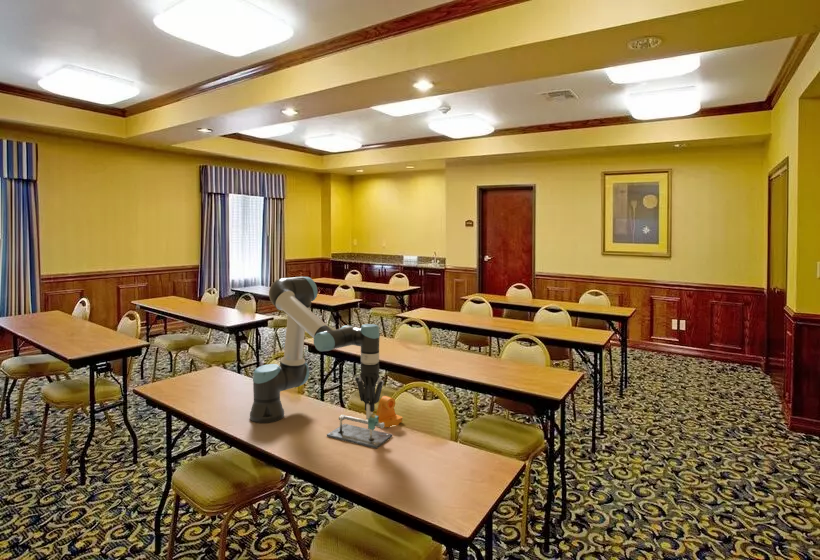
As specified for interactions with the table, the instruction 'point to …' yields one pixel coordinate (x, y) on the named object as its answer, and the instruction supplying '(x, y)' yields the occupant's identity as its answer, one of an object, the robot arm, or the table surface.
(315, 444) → the table surface
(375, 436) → the bolt plate
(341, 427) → the dividers bar
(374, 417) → the sliding leg
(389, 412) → the bracket
